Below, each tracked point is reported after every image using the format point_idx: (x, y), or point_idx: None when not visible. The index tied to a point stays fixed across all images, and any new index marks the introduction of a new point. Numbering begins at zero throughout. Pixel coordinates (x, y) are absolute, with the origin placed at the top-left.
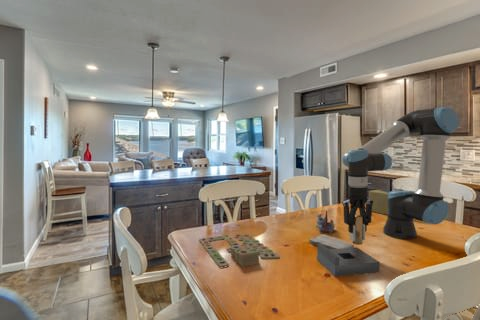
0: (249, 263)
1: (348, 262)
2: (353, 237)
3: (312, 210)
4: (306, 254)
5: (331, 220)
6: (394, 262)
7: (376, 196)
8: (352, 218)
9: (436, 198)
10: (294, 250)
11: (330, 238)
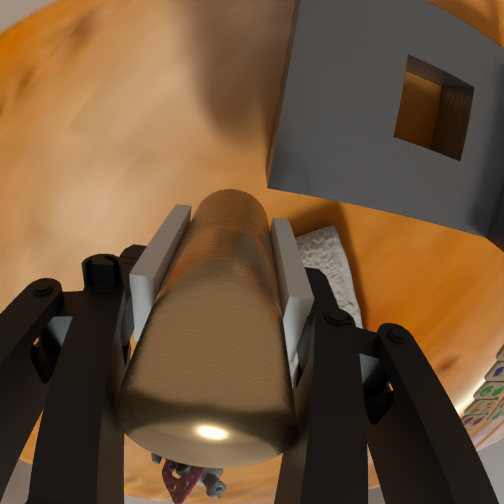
0: None
1: (478, 52)
2: (291, 236)
3: (145, 494)
4: (462, 281)
5: (157, 461)
6: (113, 52)
7: None
8: (361, 392)
9: None
10: (463, 324)
11: None
